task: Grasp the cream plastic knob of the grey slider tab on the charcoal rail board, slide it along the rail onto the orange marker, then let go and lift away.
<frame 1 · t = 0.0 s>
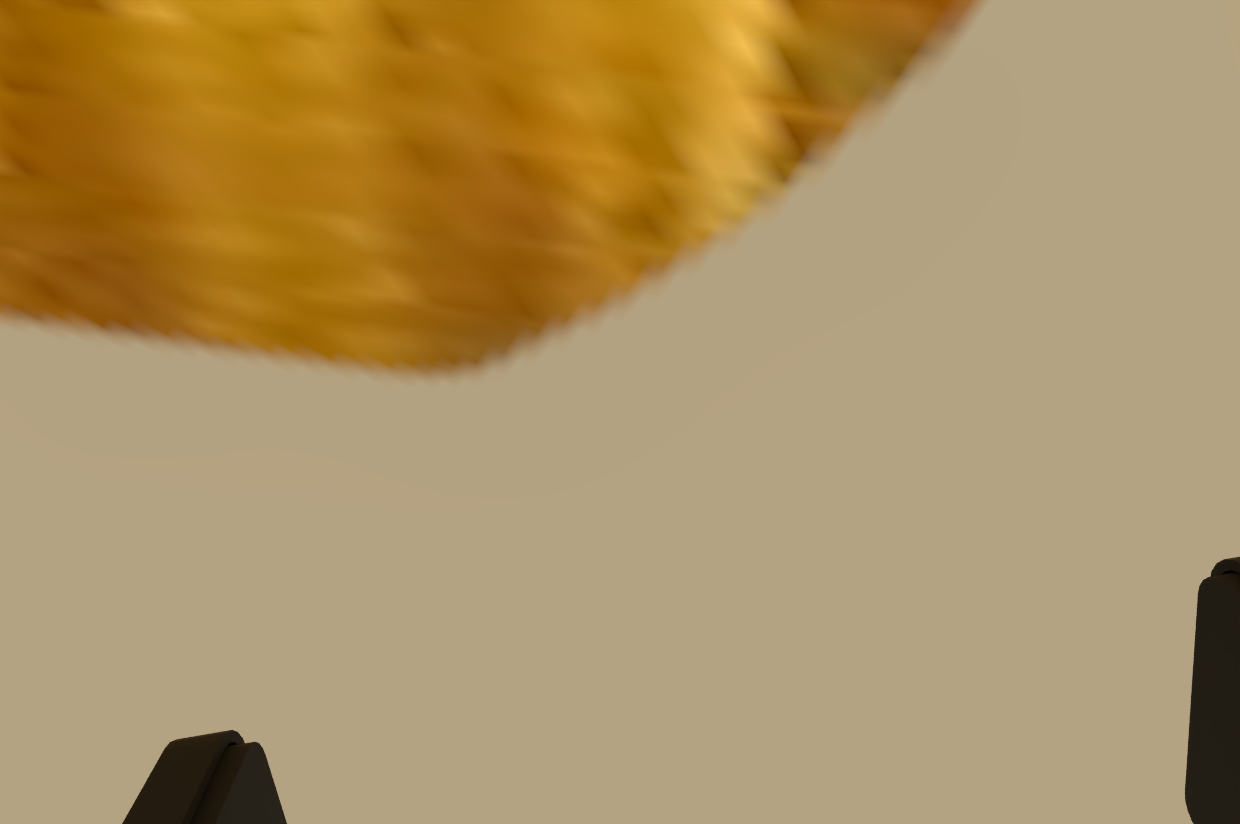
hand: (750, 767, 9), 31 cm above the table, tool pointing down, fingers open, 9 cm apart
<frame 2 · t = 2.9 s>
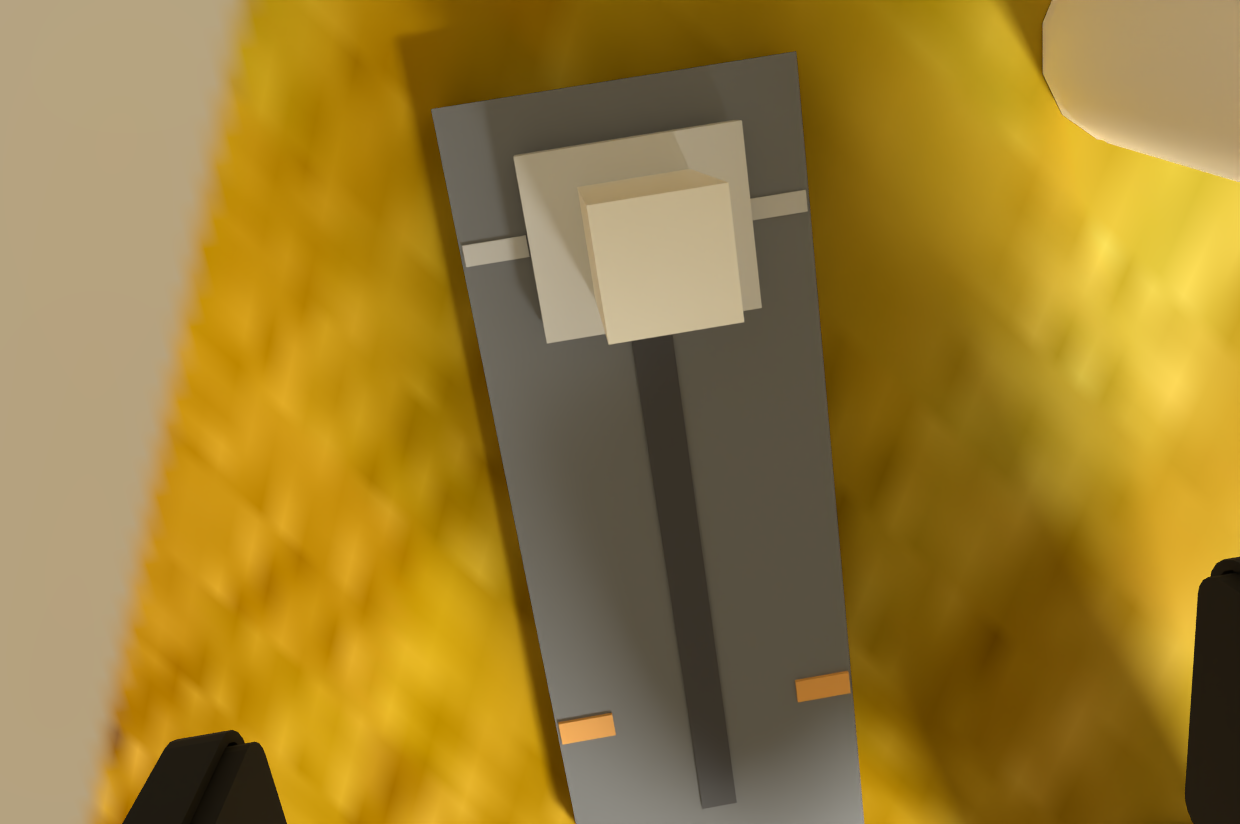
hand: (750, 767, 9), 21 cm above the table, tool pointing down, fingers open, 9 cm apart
rail board: (669, 492, 32), on the table
fader tab: (650, 245, 23), point 6 cm above the table, slide at 0.0 cm
foam cup: (1139, 34, 29), on the table
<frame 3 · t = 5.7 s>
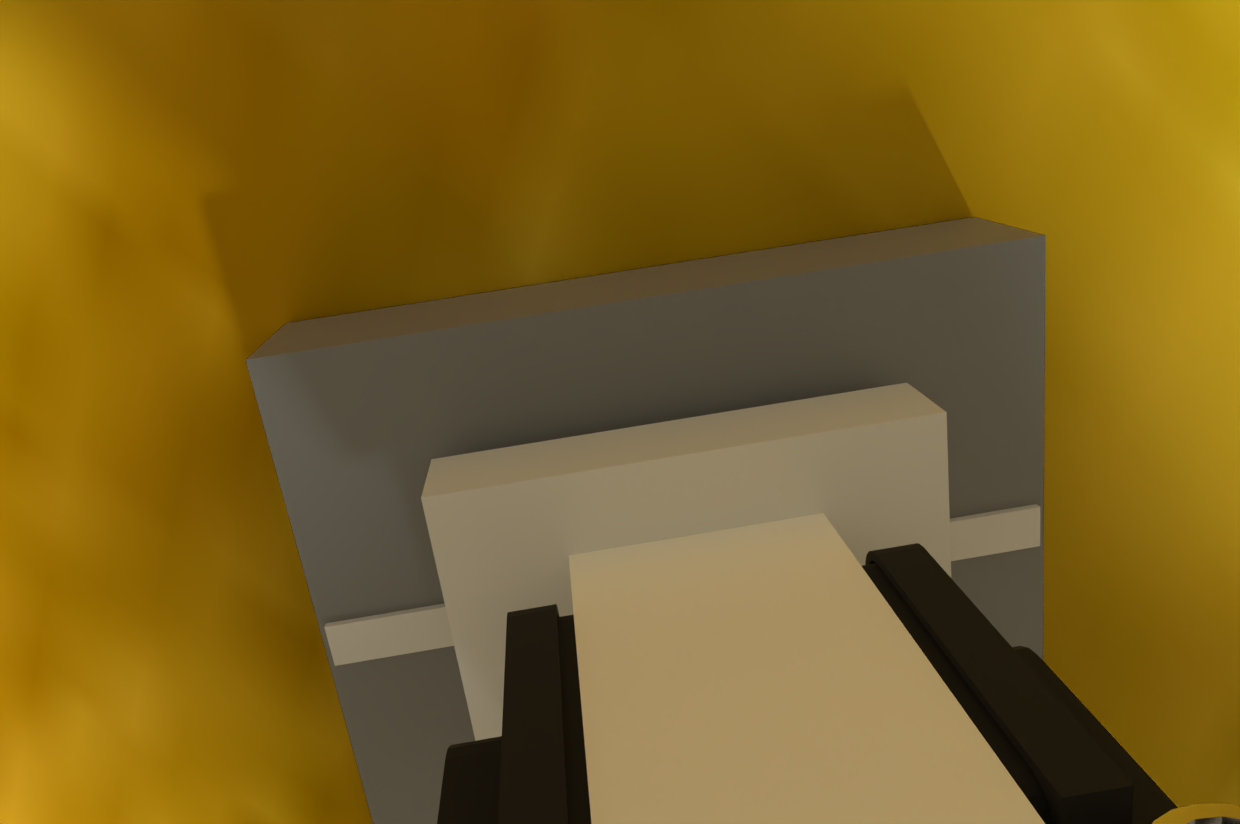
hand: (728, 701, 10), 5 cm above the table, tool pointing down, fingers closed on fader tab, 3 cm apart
fader tab: (748, 759, 9), point 6 cm above the table, slide at 0.0 cm, touching gripper
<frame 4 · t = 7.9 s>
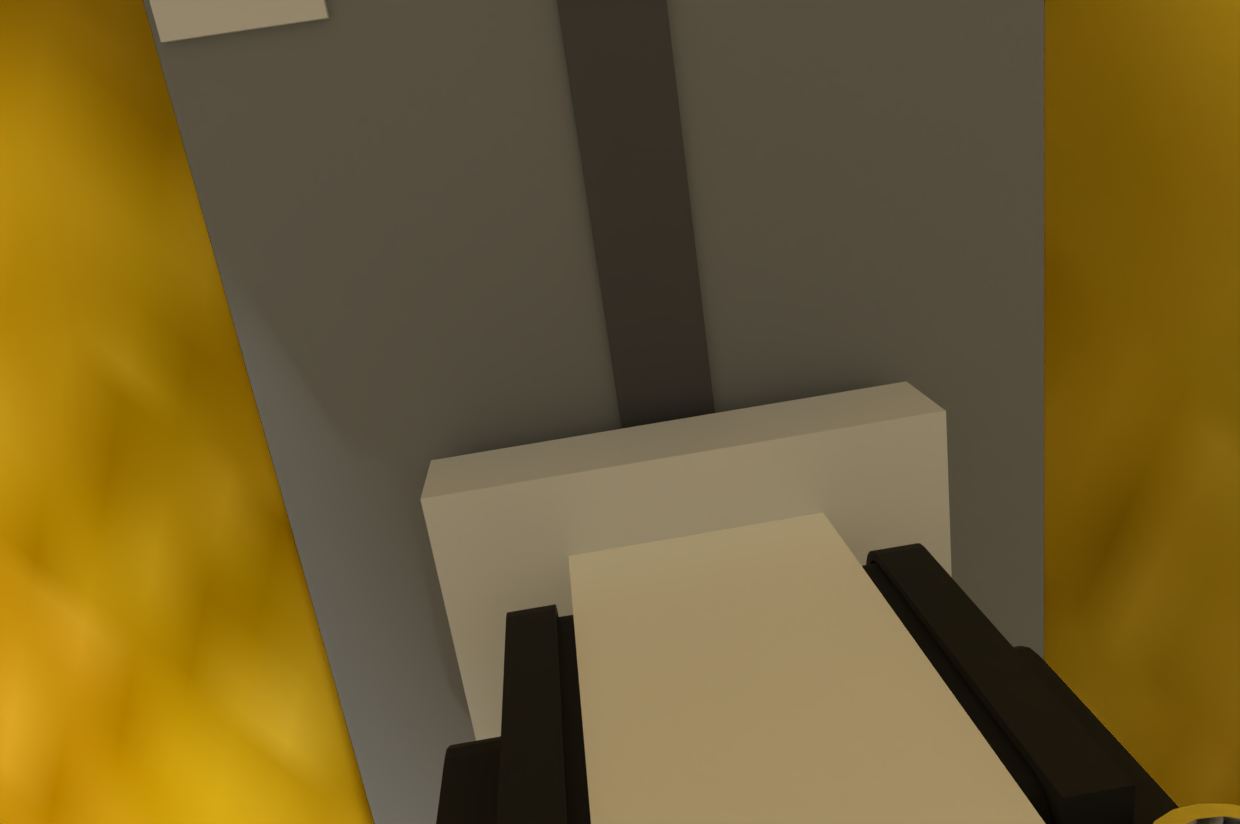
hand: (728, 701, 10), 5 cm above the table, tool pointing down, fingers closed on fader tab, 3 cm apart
rail board: (677, 581, 15), on the table
fader tab: (748, 759, 9), point 6 cm above the table, slide at 7.9 cm, touching gripper
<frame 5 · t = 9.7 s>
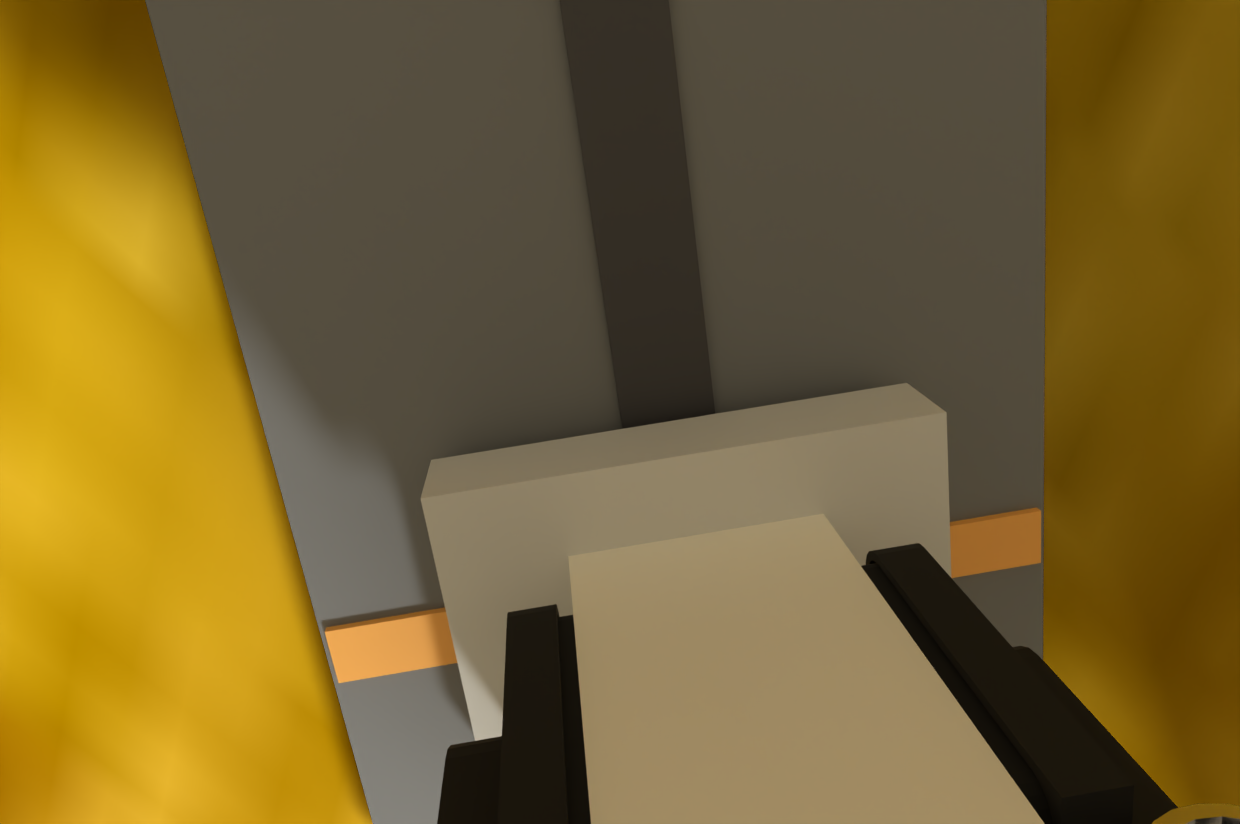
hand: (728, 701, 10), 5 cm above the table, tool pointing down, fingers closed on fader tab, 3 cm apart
rail board: (606, 58, 13), on the table
fader tab: (748, 760, 9), point 6 cm above the table, slide at 15.9 cm, touching gripper
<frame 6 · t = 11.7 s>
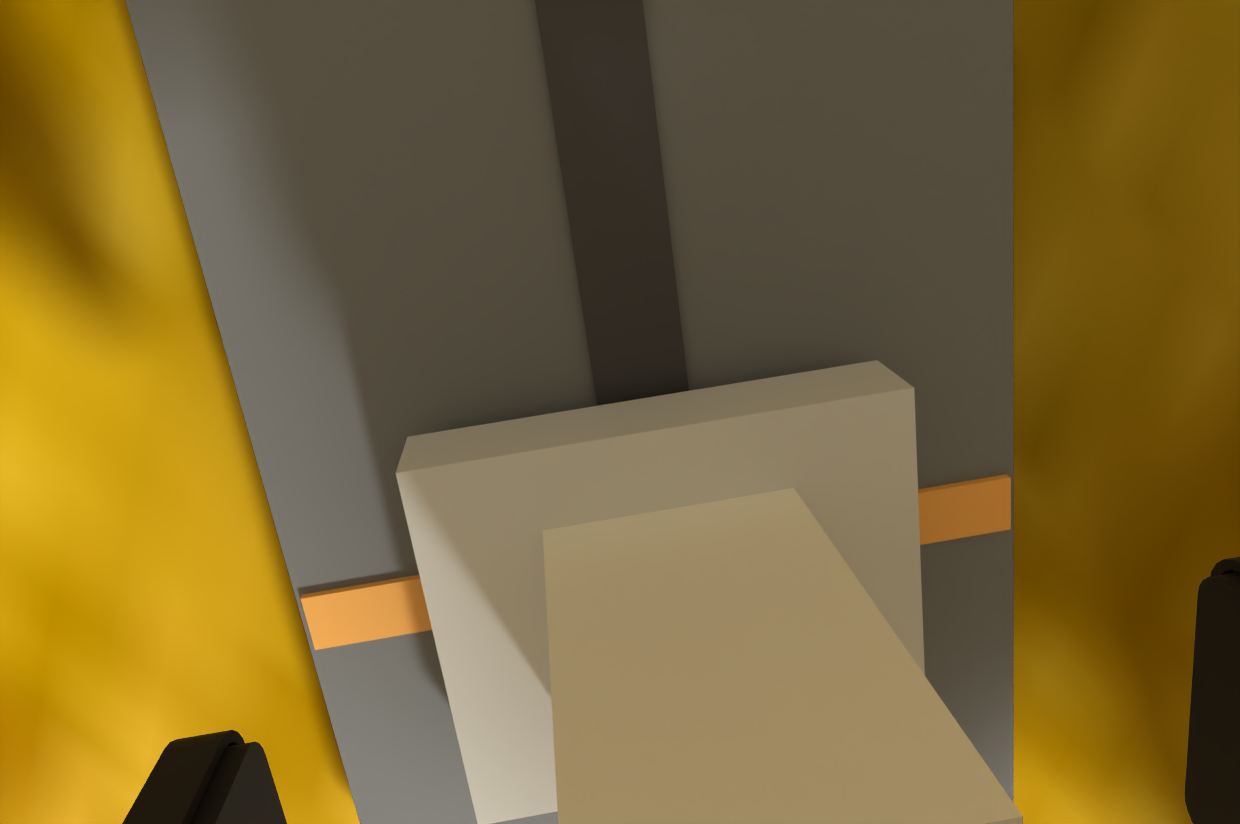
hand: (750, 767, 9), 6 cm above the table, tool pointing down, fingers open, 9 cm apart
rail board: (580, 28, 13), on the table
fader tab: (717, 727, 10), point 6 cm above the table, slide at 16.0 cm
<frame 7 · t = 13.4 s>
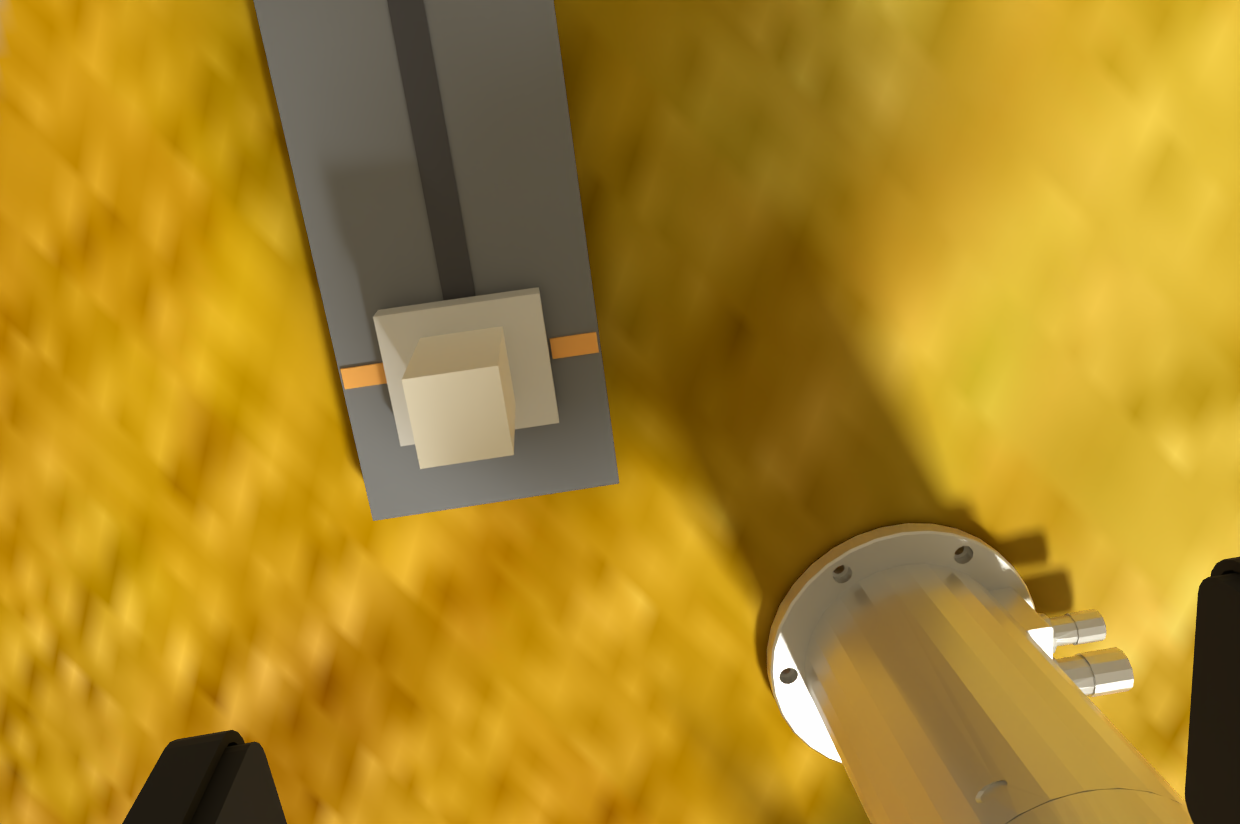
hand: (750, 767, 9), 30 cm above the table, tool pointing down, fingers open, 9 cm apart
rail board: (441, 170, 36), on the table
fader tab: (465, 387, 33), point 6 cm above the table, slide at 16.0 cm
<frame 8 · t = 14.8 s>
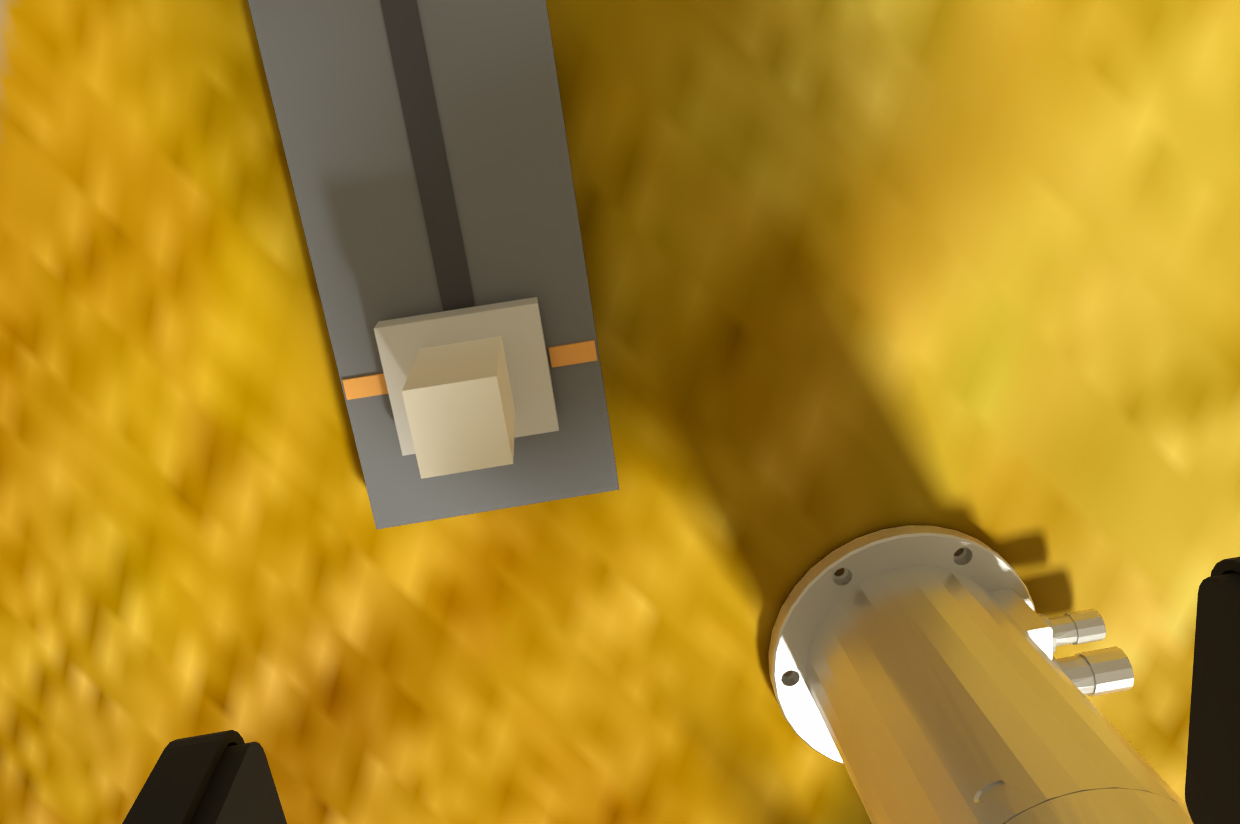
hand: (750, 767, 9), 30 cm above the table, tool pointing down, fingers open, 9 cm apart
rail board: (440, 182, 37), on the table
fader tab: (465, 397, 33), point 6 cm above the table, slide at 16.0 cm
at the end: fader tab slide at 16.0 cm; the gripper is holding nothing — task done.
